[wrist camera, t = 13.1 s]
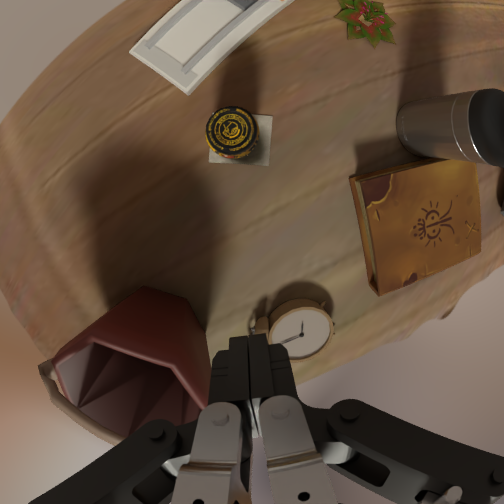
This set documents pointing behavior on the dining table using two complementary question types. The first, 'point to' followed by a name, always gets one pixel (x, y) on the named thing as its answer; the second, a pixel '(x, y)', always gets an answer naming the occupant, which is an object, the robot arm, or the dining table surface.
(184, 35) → the switch board
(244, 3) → the switch lever
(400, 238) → the diary
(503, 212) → the bluetooth speaker
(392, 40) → the succulent plant
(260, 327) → the alarm clock
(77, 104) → the dining table surface
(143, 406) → the bucket
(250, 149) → the condiment
